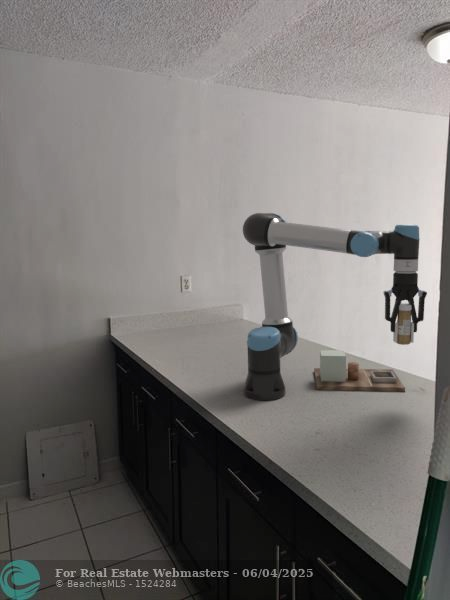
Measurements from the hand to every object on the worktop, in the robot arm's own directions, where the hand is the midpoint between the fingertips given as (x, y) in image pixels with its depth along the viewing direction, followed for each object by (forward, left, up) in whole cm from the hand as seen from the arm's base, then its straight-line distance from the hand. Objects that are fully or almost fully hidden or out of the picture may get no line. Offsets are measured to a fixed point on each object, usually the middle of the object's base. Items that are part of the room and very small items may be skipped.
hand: (403, 341), depth 159 cm
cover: (-22, +18, -19) cm, 34 cm away
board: (-12, +20, -21) cm, 31 cm away
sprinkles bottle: (0, 0, -1) cm, 1 cm away
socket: (-3, +18, -19) cm, 26 cm away
